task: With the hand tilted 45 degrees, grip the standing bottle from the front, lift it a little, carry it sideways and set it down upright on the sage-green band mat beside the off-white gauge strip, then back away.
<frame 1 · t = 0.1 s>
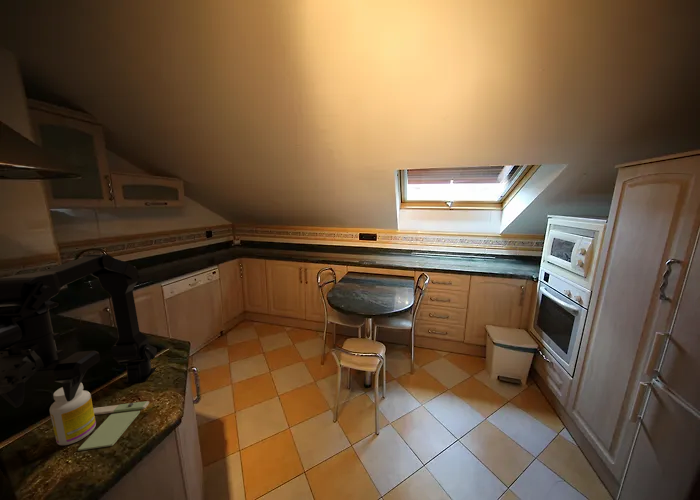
hand: (45, 402, 52), 15 cm above the worktop, tool pointing down, fingers open, 9 cm apart
supplement bottle: (77, 434, 60), on the worktop
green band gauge: (111, 429, 62), on the worktop
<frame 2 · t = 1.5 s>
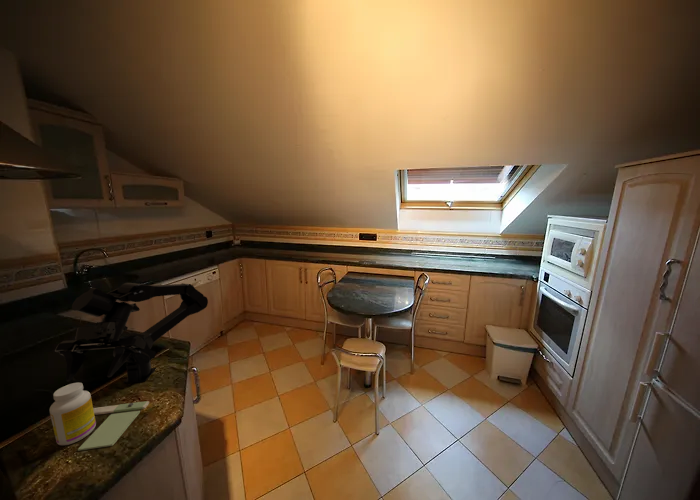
hand: (88, 379, 64), 11 cm above the worktop, tool tilted 45°, fingers open, 9 cm apart
nothing on the worktop moved.
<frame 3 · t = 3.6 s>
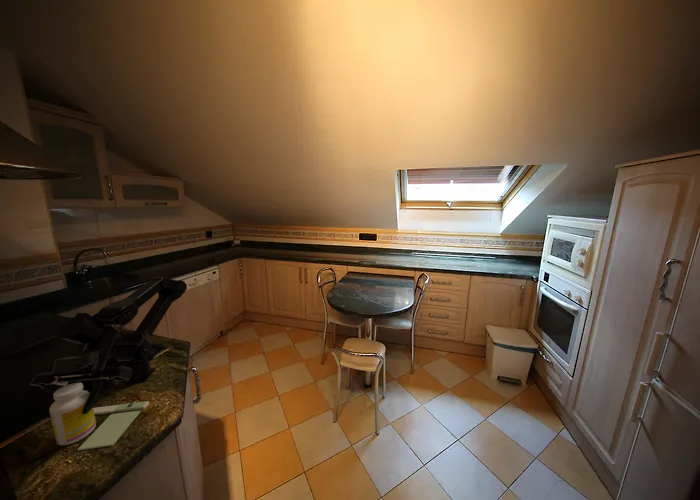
hand: (67, 416, 58), 7 cm above the worktop, tool tilted 45°, fingers closed on supplement bottle, 7 cm apart
supplement bottle: (77, 434, 60), on the worktop, touching gripper
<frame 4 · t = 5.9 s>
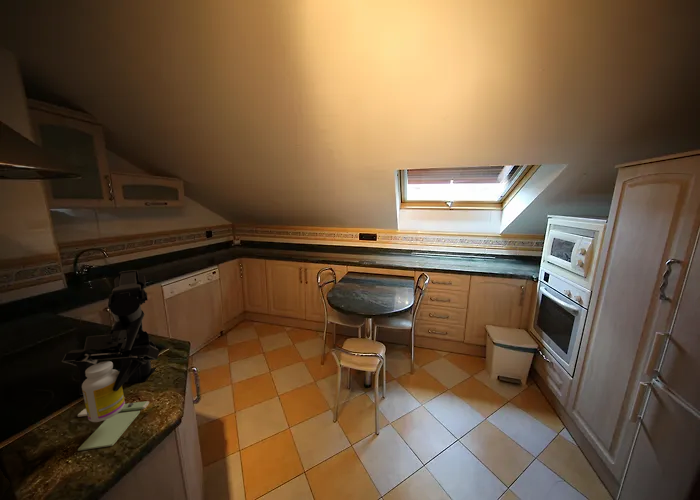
hand: (98, 392, 58), 12 cm above the worktop, tool tilted 45°, fingers closed on supplement bottle, 7 cm apart
supplement bottle: (107, 412, 61), point 5 cm above the worktop, touching gripper
when the fingers open (8 cm above the worktop, at t = 7.7 s): supplement bottle stays where it is, resting on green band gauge.
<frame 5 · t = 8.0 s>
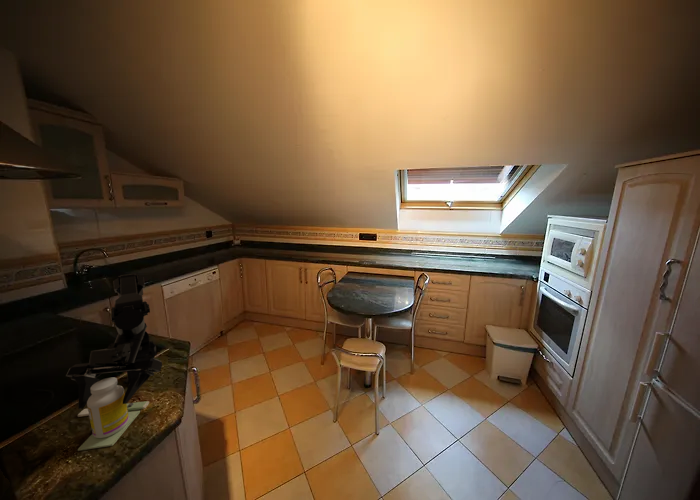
hand: (102, 406, 59), 8 cm above the worktop, tool tilted 45°, fingers open, 9 cm apart
supplement bottle: (111, 428, 62), resting on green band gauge
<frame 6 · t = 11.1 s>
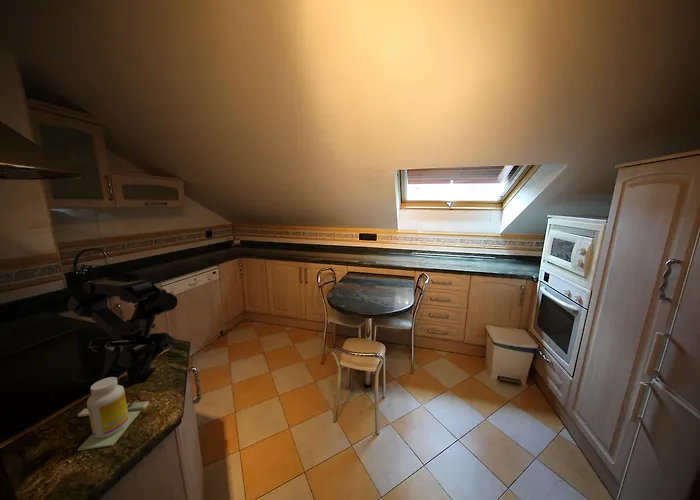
hand: (121, 374, 65), 12 cm above the worktop, tool tilted 45°, fingers open, 9 cm apart
nothing on the worktop moved.
at the end: supplement bottle inside the target area (0.4 cm from its centre), resting on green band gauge; supplement bottle tilted 0°; the gripper is holding nothing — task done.
